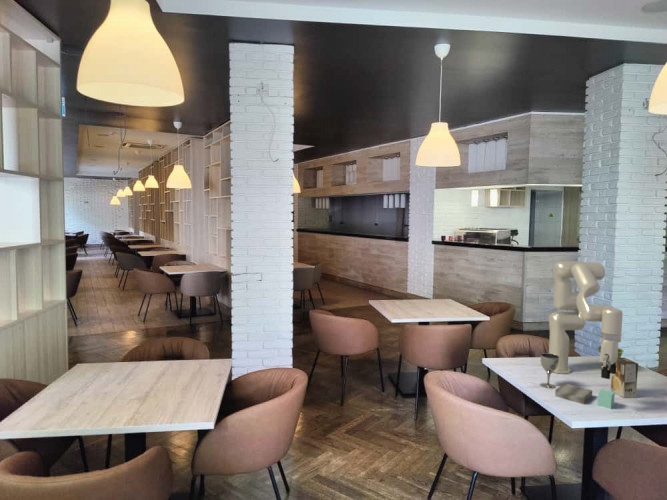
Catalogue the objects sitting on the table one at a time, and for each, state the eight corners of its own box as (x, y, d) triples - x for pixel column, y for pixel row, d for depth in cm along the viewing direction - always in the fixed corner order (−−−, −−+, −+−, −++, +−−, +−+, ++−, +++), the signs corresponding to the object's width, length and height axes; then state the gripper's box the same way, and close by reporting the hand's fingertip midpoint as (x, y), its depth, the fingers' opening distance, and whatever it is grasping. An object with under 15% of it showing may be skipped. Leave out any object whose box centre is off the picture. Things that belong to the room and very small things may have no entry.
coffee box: (636, 397, 207) (639, 363, 206) (623, 398, 206) (626, 363, 205) (622, 390, 216) (624, 357, 215) (609, 390, 216) (612, 357, 214)
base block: (555, 396, 207) (555, 389, 207) (564, 389, 215) (564, 383, 215) (583, 404, 198) (584, 397, 198) (592, 396, 207) (592, 390, 207)
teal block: (597, 405, 198) (598, 392, 197) (600, 402, 201) (601, 389, 201) (610, 409, 194) (611, 395, 194) (613, 405, 198) (614, 392, 197)
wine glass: (555, 384, 222) (557, 354, 221) (558, 389, 215) (560, 359, 213) (538, 381, 225) (540, 352, 223) (540, 387, 217) (541, 357, 216)
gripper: (606, 332, 204) (604, 369, 205) (595, 338, 192) (593, 378, 193) (625, 335, 199) (623, 373, 200) (615, 342, 187) (613, 382, 188)
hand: (608, 375), depth 196 cm, fingers open, 9 cm apart
